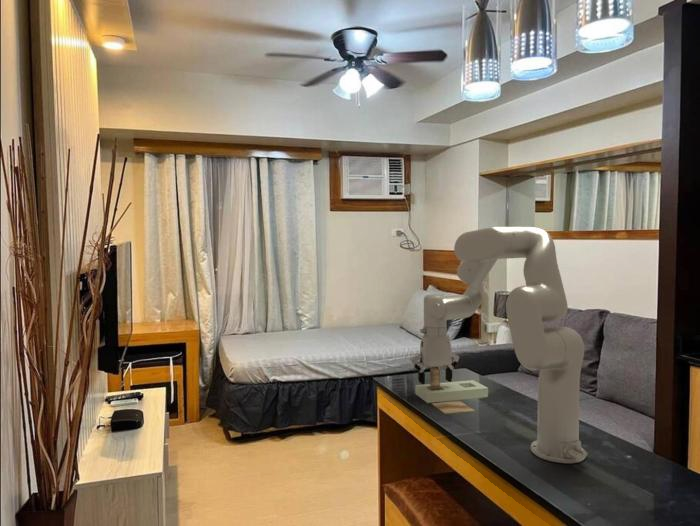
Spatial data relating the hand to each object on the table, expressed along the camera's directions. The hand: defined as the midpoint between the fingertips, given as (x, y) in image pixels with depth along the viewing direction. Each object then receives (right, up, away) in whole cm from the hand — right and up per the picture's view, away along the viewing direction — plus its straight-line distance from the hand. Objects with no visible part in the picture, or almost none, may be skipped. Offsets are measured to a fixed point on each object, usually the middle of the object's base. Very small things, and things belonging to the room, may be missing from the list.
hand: (435, 382), depth 168 cm
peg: (0, -6, 0) cm, 6 cm away
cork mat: (+4, -6, -10) cm, 12 cm away
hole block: (+6, -5, +2) cm, 8 cm away
